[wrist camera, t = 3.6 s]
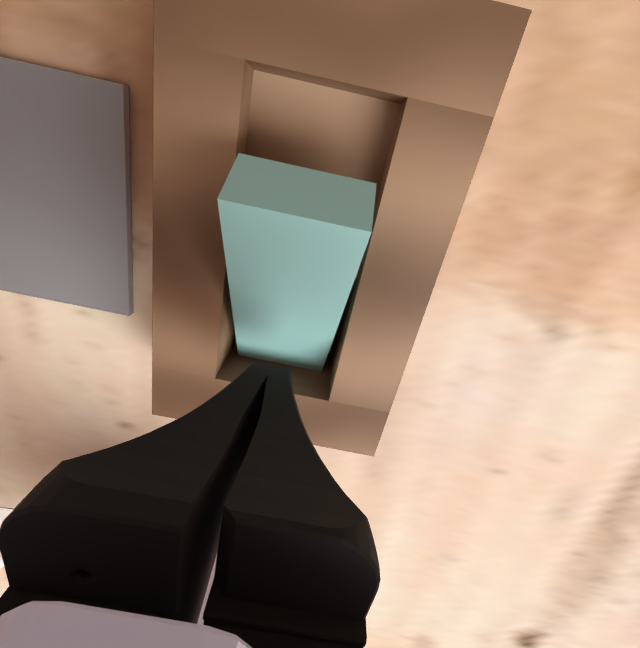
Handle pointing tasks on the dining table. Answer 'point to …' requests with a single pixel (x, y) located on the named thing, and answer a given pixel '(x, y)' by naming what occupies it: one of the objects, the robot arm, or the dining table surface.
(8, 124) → the grey mat
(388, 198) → the walnut frame
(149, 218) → the dining table surface
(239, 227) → the teal block
